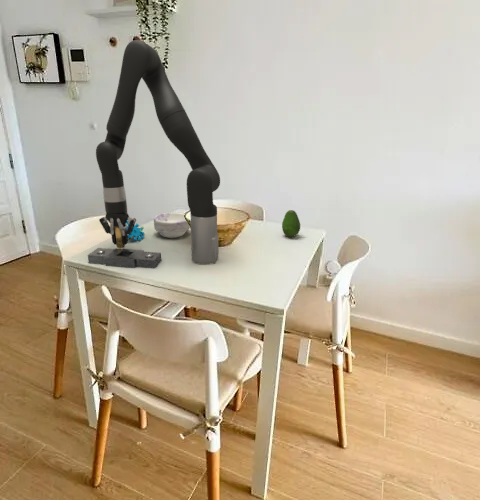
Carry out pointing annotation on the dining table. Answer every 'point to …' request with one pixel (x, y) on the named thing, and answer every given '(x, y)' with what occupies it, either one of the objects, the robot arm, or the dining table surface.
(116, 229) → the pin
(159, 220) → the paper bowls
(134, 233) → the gear
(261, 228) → the dining table surface
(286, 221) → the avocado
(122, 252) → the grey block with hole
